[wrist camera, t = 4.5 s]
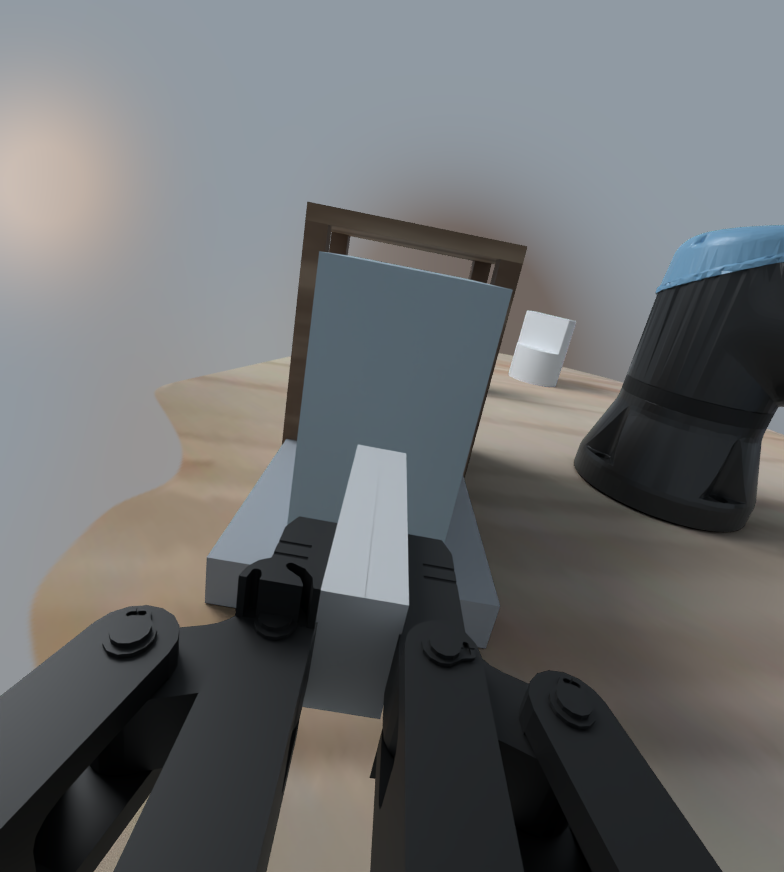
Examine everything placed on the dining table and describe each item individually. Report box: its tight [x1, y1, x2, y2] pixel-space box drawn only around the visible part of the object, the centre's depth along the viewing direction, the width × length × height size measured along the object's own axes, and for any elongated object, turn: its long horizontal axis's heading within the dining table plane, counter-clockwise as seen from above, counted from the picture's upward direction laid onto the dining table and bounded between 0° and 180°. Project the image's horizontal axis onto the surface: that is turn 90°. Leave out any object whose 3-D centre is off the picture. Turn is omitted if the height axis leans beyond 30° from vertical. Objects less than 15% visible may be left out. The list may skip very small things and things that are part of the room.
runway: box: [205, 439, 500, 648], centre depth 32 cm, size 26×13×2 cm, turn 178°
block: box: [287, 251, 513, 543], centre depth 25 cm, size 14×7×13 cm, turn 178°
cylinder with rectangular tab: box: [509, 311, 576, 387], centre depth 83 cm, size 9×9×12 cm
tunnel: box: [282, 202, 527, 478], centre depth 36 cm, size 12×14×18 cm
